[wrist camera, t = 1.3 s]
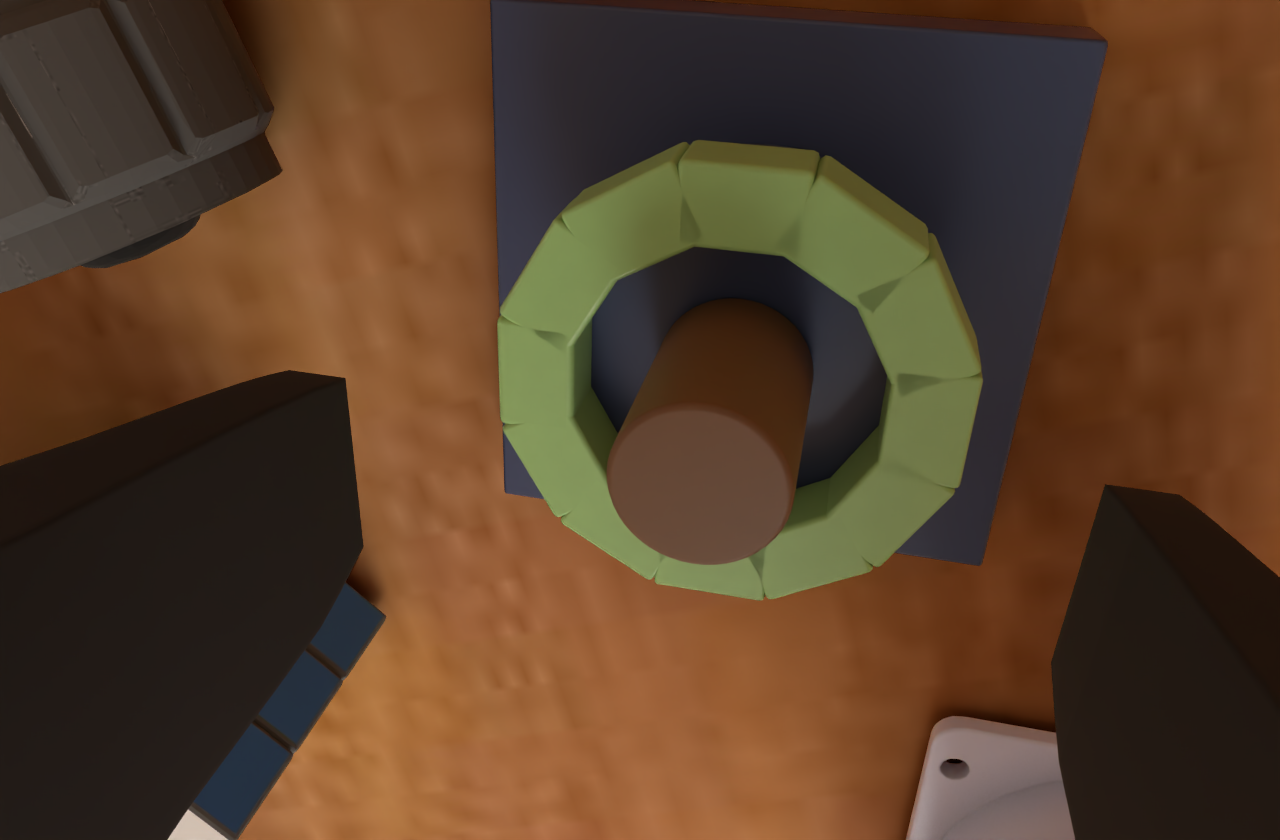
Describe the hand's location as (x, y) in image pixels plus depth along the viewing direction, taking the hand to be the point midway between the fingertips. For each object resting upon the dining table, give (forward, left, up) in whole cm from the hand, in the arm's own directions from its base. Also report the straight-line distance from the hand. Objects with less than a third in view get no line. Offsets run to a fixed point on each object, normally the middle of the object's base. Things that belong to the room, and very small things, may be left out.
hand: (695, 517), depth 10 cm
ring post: (0, 0, -7) cm, 7 cm away
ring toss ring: (0, 0, -4) cm, 4 cm away
